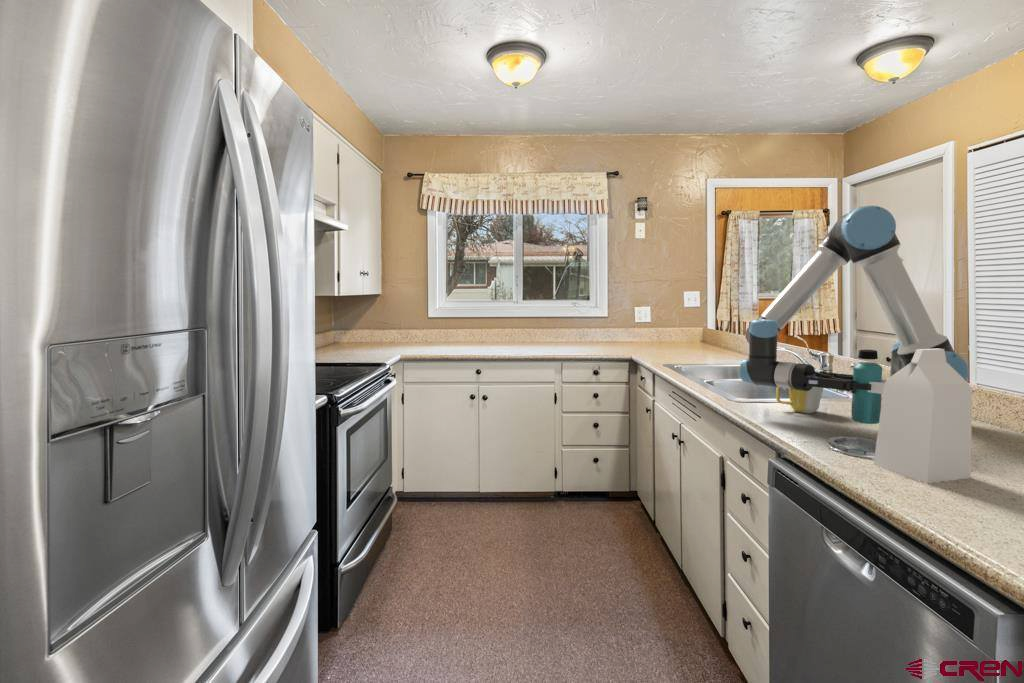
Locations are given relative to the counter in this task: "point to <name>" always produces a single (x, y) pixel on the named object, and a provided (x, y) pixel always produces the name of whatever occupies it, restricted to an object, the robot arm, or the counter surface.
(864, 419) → the beverage bottle
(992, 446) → the counter surface
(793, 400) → the mug
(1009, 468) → the counter surface
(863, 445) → the grey round plate
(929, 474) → the milk
